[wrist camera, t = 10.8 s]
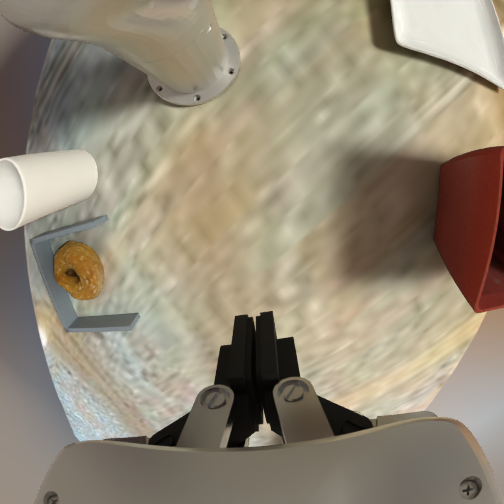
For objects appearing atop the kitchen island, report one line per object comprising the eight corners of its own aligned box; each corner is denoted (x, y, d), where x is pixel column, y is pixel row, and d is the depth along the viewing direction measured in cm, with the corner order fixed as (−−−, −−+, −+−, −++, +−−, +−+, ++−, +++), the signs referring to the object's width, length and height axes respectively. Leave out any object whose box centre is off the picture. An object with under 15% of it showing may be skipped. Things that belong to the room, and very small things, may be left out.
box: (43, 232, 39) (29, 240, 35) (107, 214, 38) (93, 221, 34) (76, 320, 45) (66, 332, 41) (139, 317, 44) (131, 330, 40)
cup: (104, 192, 37) (33, 218, 22) (66, 208, 38) (-3, 239, 23) (90, 141, 34) (15, 145, 19) (53, 161, 35) (-20, 175, 20)
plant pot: (412, 261, 40) (473, 316, 24) (422, 139, 34) (502, 144, 18) (487, 258, 40) (544, 297, 24) (499, 158, 33) (567, 172, 17)
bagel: (61, 229, 39) (44, 237, 35) (113, 252, 40) (99, 264, 36) (57, 278, 42) (42, 290, 38) (105, 303, 44) (93, 317, 39)
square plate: (385, 51, 29) (397, 43, 26) (362, -62, 20) (368, -72, 17) (502, 96, 29) (516, 95, 25) (476, -13, 20) (486, -19, 16)
